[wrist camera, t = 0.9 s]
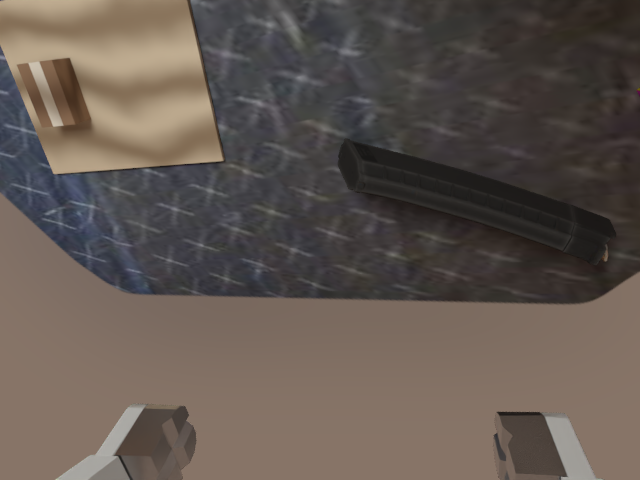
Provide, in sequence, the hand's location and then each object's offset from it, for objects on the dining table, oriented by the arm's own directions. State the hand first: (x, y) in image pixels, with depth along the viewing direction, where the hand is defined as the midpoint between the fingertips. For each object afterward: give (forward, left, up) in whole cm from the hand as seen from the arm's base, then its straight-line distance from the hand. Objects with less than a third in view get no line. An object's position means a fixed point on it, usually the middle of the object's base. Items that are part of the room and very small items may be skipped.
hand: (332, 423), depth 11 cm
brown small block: (-6, -37, -41) cm, 55 cm away
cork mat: (-6, -31, -42) cm, 52 cm away
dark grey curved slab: (+9, +10, -42) cm, 44 cm away
